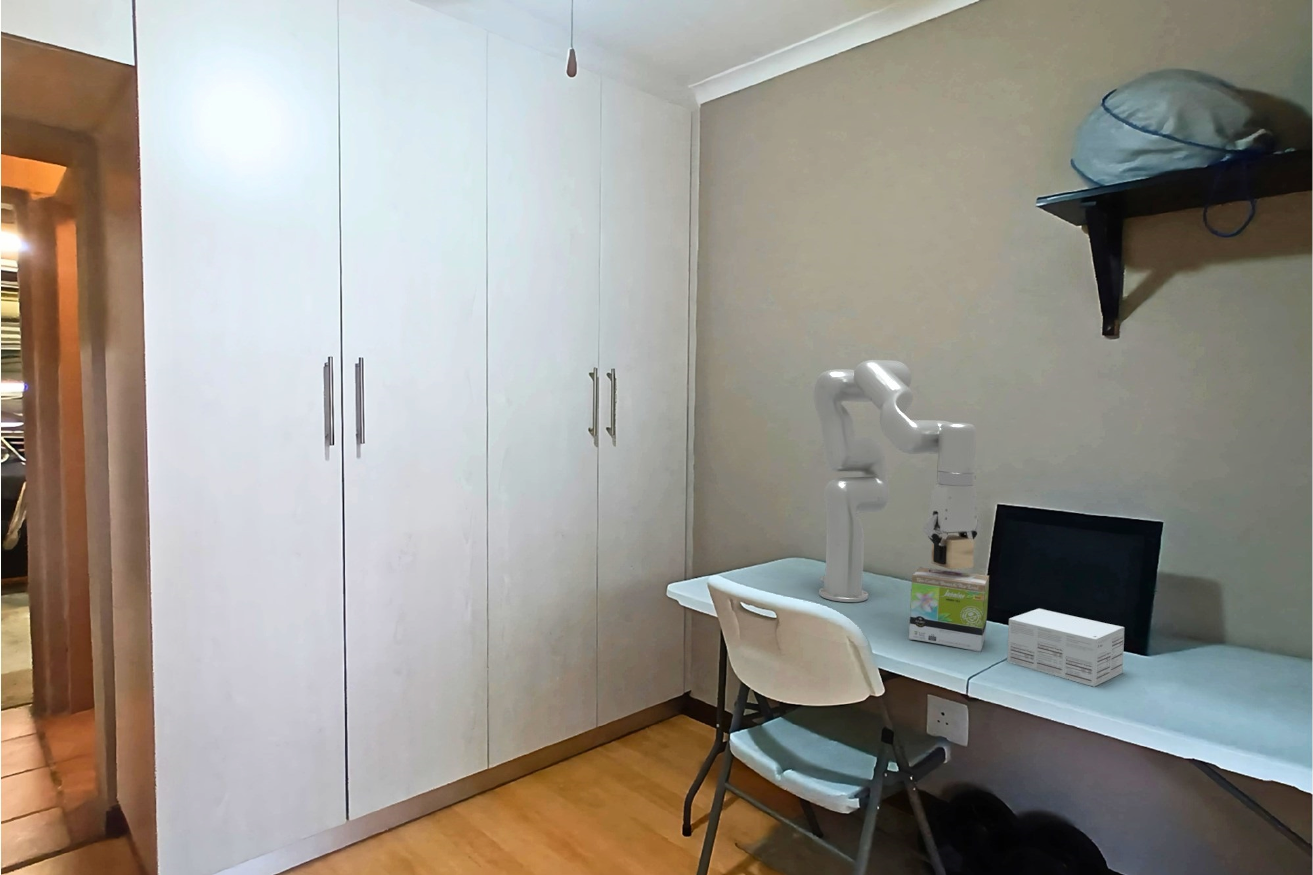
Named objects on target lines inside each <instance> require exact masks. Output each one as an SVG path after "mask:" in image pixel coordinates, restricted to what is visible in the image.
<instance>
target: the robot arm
mask: <svg viewBox="0 0 1313 875" xmlns="http://www.w3.org/2000/svg"><path fill="white" fill-rule="evenodd" d="M911 384H912V374H911V370H910V369H909V367H908V366H907V365H906V364H905V363H903V362H901V361H899V360H894V359H893V360H891V359H890V360H888V359H887V360H886V359H885V360H884V359H868V360H864V361H861V363H859V364H858V365H857V366H856V367H855V368H854V369H848V368H847V369H846V368H843V369H842V368H838V369H829V370H825V371H824V372H821V373H820V374H819V375H818V377H817V378H816V380H815V383H814V385H813V394H812V396H813V397H812V398H813V403H814V407H815V409H816V410H815V411H816V413H817V415H818V418H819V423H820V430H821V438H822V447H823V452H824V453H823V454H824V460H825V463H826V467H827V468H828V469H829V470H830V471H832V472H834V473H846V474H847V473H859V476H843V477H842V476H841V477H837V478H834V479H832V480H830V481H829V482H828V483H826V485H825V487H824V491H823V499H824V500H823V501H824V504H825V505H824V506H825V511H826V513H825V514H826V549H825V550H826V553H825V575H824V576H820V578H819V580H820V582H822V583H823V587H821V588H819V590H818V595H819V597H821V598H823V599H826V600H830V601H835V602H841V603H859V602H864V601H867V600H868V598H869V593H868V592H867V591H865V590H864V589H863V578H864V577H863V576H864V575H863V573H864V550H865V549H864V548H865V544H864V543H865V529H864V526H863V524H862V522H861V520H860V518H859V516H858V514H862V513H863V514H864V513H865V514H867V513H878V512H881V511H884V510H885V509H886V508H887V506H888V505H889V502H890V499H891V498H890V494H891V493H890V491H891V490H890V485H889V477H888V471H887V470H888V469H887V463H886V458H885V453H884V452H885V451H884V450H883V447H882V445H881V443H880V442H879V441H878V440H876V438H873V437H870V436H857V435H856V431H855V427H854V426H855V424H854V420H853V417H852V416H851V414H850V412H849V410H847V408H846V407H845V406H844V405H843V402H850V403H851V402H854V403H856V402H857V403H861V402H863V403H868V402H871V403H872V404H873V405H874V406H875V407H876V409H878V411H879V423H880V427H881V428H880V429H881V431H882V433H883V434H884V436H885V437H886V439H887V440H889V441H890V443H891V444H892V445H893V446H894V447H895V448H897V450H899V451H901V452H903V453H905V454H910V455H917V454H918V455H919V454H920V455H922V454H929V455H933V454H934V455H935V454H936V455H937V466H936V484H935V485H933V487H932V490H931V493H930V499H929V504H928V511H927V513H928V514H927V523H926V524H925V525H924V527H923V528H922V529H923V530H922V531H923V532H924V533H925V535H926V536H927V537H928V539H929V540H930V541H931V542H930V543H931V545H932V544H934V555H933V561H934V562H936V563H939V564H942V565H944V564H946V547H947V546H944V545H945V542H946V539H947V536H948V535H949V534H954V533H957V534H958V536H960V537H964V538H968V539H972V540H975V538H976V537H977V536H978V533H979V532H980V531H981V530H982V529H983V524H981V522H980V521H979V519H978V500H977V499H978V498H977V492H976V486H974V485H975V483H974V482H975V480H976V478H977V475H976V474H975V464H976V463H975V462H976V443H977V429H976V427H975V425H973V423H972V424H971V423H966V422H951V421H947V420H940V419H939V420H938V419H937V420H932V419H928V420H927V419H922V420H921V419H920V420H919V419H910V418H909V417H908V416H907V415H906V414H905V413H906V412H907V411H908V409H909V408H910V407H911V405H912V403H913V400H914V399H913V397H914V396H913V391H912V390H911V388H910V387H911ZM939 536H941V538H939Z"/></svg>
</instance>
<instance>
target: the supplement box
mask: <svg viewBox="0 0 1313 875" xmlns="http://www.w3.org/2000/svg"><path fill="white" fill-rule="evenodd" d="M1007 632H1008V636H1007V654H1006V655H1007V656H1006V662H1007V661H1008V663H1010V662H1012V663H1011V664H1013V663H1015V664H1014V665H1016V664H1018V665H1017V666H1020V665H1021V667H1023V666H1025V667H1024V668H1027V669H1030V668H1031V670H1034V669H1035V670H1034V671H1038V672H1040V671H1041V673H1045V674H1047V673H1048V675H1051V676H1054V675H1055V676H1054V677H1059V678H1062V679H1065V680H1068V679H1069V681H1072V682H1077V683H1080V684H1082V685H1086V686H1090V687H1097V686H1099V685H1101V684H1103V683H1104V682H1107V681H1109V680H1112V679H1113V678H1115V677H1117V676H1119V675H1121V674H1123V670H1124V646H1125V645H1124V644H1125V627H1124V626H1121V625H1115V624H1110V623H1107V622H1106V623H1105V622H1101V621H1098V620H1092V619H1088V618H1084V617H1078V616H1074V615H1069V614H1065V613H1061V612H1057V611H1052V610H1047V609H1044V608H1036V609H1034V610H1030V611H1027V612H1024V613H1021V614H1019V615H1015V616H1013V617H1010V618H1008V631H1007Z"/></svg>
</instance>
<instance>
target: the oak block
mask: <svg viewBox="0 0 1313 875" xmlns="http://www.w3.org/2000/svg"><path fill="white" fill-rule="evenodd" d="M939 538H941V535H940V536H939ZM944 546H947V547H946V564H944V565H942V564H939V563H936V562H934V561H933V555H934V544H932V543H931V557H930V558H931V559H930V563H931V564H932V565H935V566H939V567H942V568H945V569H947V570H948V569H949V570H959V569H960V570H961V569H969V568H970V569H971V568H974V553H975V552H974V550H975V548H974V547H975V539H973V540H972V539H968V538H964V537H960V536H959V535H955V534H948V536H947V539H946V542H945V545H944Z"/></svg>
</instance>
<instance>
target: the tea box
mask: <svg viewBox="0 0 1313 875" xmlns="http://www.w3.org/2000/svg"><path fill="white" fill-rule="evenodd" d="M989 581H990V575H986V574H980V573H979V574H978V573H973V572H963V571H956V570H951V569H949V570H948V569H941V568H934V567H926V566H925V567H924V566H918V568H917V570H916V571H915V572H914V573H913V574H912V577H911V589H910V591H911V592H910V607H909V609H910V610H909V625H908V626H909V628H908V638H909V639H908V640H912V641H919V642H920V641H921V642H927V643H932V644H938V645H943V646H949V647H954V648H958V649H964V650H968V651H972V652H973V651H974V652H978V653H980V652H981V651H982V649H983V646H984V642H985V640H986V633H987V632H986V631H987V620H988V604H989V603H988V602H989V586H990V585H989V584H990V582H989Z"/></svg>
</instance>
